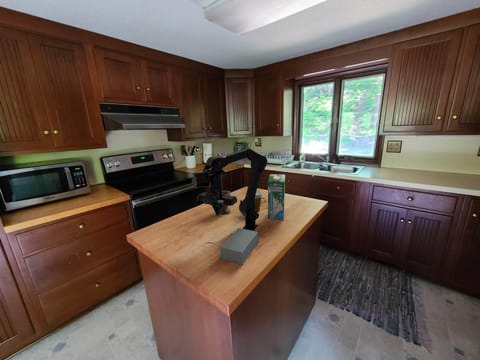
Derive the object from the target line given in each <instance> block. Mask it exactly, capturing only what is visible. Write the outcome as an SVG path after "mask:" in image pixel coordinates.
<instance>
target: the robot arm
mask: <svg viewBox="0 0 480 360" xmlns="http://www.w3.org/2000/svg"><path fill="white" fill-rule="evenodd" d="M244 159H247V160H248V161H249V162H250V169H251V172H250V176H249V181H248V185H247V189H246V193H245V197H244V199H242V200H239V205H238V211H239V213H241V215H242V216H244V225H243V227H242V229H245V230H250V231H256V229H257V228H258V226H259V225H258V224H257V221H256V220H257V219H259V218H260V213H259V212H256V211H255V207H256V206H255V201H254V200H255V195H256V191H257V190H258V187H259V183H260V178H261V175H262V173H263V172H264V170H265V169H266V167H267V165H268V159H267V157H266V156H265V155H262V154H261V153H258V152H257V151H254V150H253V149H252V148H248V147H247V148H243V149H241V150H237V151H234V152H231V153H227V154H224V155H214V156H212V155H211V156H209V157H208V158H207V160H206V163H205V165H204V167H203V169H202V170H201V171H199V172H198V171H195V172H192V173H193V175H192V177H191V178H192V179H191V183H192V186H193V188H194V189H199V188H204V187H207V192H202V193H200V194H198V195H197V197H196V198H197V199H196V200H197V202H202V203H204V204H203V205H208V206H211V207H212V209H213V211H214V214H215V216H217V217H219V216H220V215H221V213H220V212H221V209H222V207H223V205H224V204H225V205H228V207H229V206H230V207H232V206H234V205H235V204H236V203H238V197H237V196H236V195H235V196H234V195H230V196H228V197H223V196H224V193H223V191H224V190H223V188H224V187H225V186H224V184H223V176H222V175H225V174H227V172H226V171H225V170H224V168H226V167H227V166H228V165H229V164H233V163H236V162H238V161H240V160H244ZM208 186H209V187H208Z"/></svg>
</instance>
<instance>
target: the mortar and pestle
mask: <svg viewBox="0 0 480 360" xmlns="http://www.w3.org/2000/svg"><path fill="white" fill-rule="evenodd" d="M223 193H224V196H223V197H228V196H231V191H230V190H223ZM231 210H232V209H231V208H230V207H229V206H228V205H225V204H224V205H223V207H222V209H221V212H220V215H221V214H222V215H226V214H230V213H231V212H232V211H231Z"/></svg>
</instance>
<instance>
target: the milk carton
mask: <svg viewBox="0 0 480 360" xmlns="http://www.w3.org/2000/svg"><path fill="white" fill-rule="evenodd" d="M285 195H286V174H280V173H279V174H276V173H274V174H272V173H271V174H269V176H268V181H267V219H268V220H281V221H284V220H285V198H286V196H285Z"/></svg>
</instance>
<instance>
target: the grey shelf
mask: <svg viewBox="0 0 480 360" xmlns="http://www.w3.org/2000/svg"><path fill="white" fill-rule="evenodd" d="M258 243H259V232H258V231H256V230H254V231H252V230H247V229H243V228H239V227H238V228H237V229H236V230H235V231H234V232H233V233H231V235H230V236H229V237H228V238H227V239H226V240H225V241H224V242H223V243H222V244H221V245H220V246H219V249H220V251H219V252H220V259H221V260H224V261H227V262H231V263H234V264H239V265H242V266H243V265H244V264H245V262H246V261H247V259H248V258H249V257H250V255H251V254H252V252H253V251H254V249H255V248H256V246H257V245H258Z"/></svg>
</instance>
